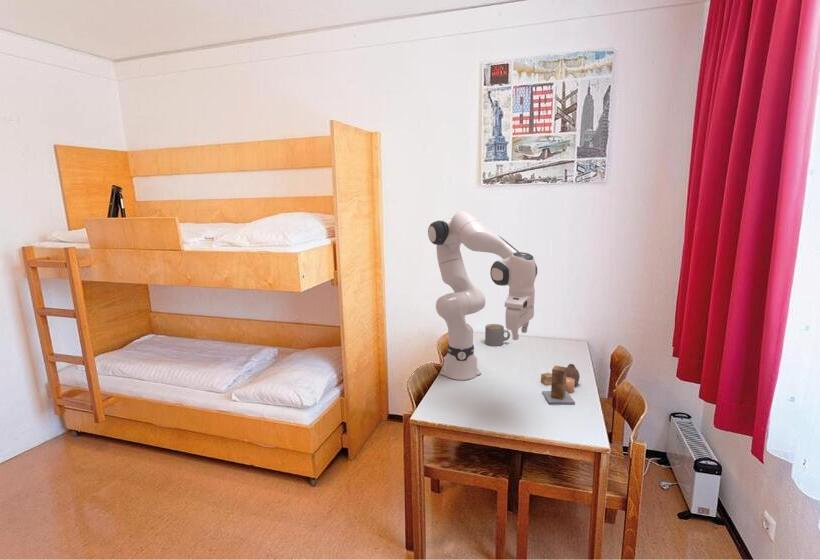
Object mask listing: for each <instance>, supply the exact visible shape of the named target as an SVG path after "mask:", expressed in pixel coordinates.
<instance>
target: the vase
mask: <svg viewBox="0 0 820 560" xmlns="http://www.w3.org/2000/svg"><path fill="white" fill-rule="evenodd" d="M566 368H567V372H566V377H571V378H573V379H575V384H574V387H575V386H577V385H578V383H579V382H580V378H581V377H580V372H579V371H578V368H577V367H576V366H575V364H573V363H569V364H568V365H567V367H566Z"/></svg>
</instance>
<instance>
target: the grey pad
mask: <svg viewBox="0 0 820 560" xmlns="http://www.w3.org/2000/svg"><path fill="white" fill-rule="evenodd" d="M541 394H542V395H544V396H543V397H544V399H545V400H546V401H547V403H548V405H551V406H554V405H555V406H557V405H559V406H560V405H566V406H567V405H571V406H572V405H576V402H575V400H574V398H573V397H572V395H570V393H568V392H567V391H565V397H564V398H563V400H560V399H556V398H551V390H542V391H541Z"/></svg>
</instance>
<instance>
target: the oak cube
mask: <svg viewBox="0 0 820 560" xmlns="http://www.w3.org/2000/svg"><path fill="white" fill-rule="evenodd" d="M540 383H541V384H543V385H544V386H546V387H547V386H551V385H552V372H543V373H541V374H540Z"/></svg>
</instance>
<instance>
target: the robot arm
mask: <svg viewBox="0 0 820 560" xmlns="http://www.w3.org/2000/svg"><path fill="white" fill-rule="evenodd" d="M427 236H428V240H429V241H430V242H431V243H432V244H433V245H435V246H436V259H437V262H438V263H437V264H438V267H439V268H438V269H439V271H440V275H441V276H440V277H441V279H442V282H443V283H444V284H445V285H448V286H449V287H450V288H451V289H452V291H453V292H450V293H446V294H444V295H442V296H440V297H439V298H437V299H436V301H435V310H436V312H437V314H438V316H439V317H441V319H443V320H444V321H445V323H446V326H447V333H448V344H447V354H446V355H445V356H443V358H442V359H443V360H442V361H443V364H442V366H441V369H440V372H439V374H440V375H442V376H445V377H448V378H450V379H453V380H456V381H457V380H459V381H466V380H467V381H468V380H471V379H472V380H473V379H475V378H476V377H477V376H481V375H482V371H481V370H480V369H479V367H478V357H477V356H476V354H475V345H474V329H473V327H472V326H471V325H470V324H468V323H467V322H466V316H468V315H471V314H476V313H477V312H480V311H482V310H483V309H484V308H485V306H486V298H485V294H484V293H483V292H482V291H480V289H478V288H477V287H476V286H474V284H473V282H471V280H470V278H469V276H468V274H467V271H466V270H467V269H466V267H465V264H464V260H463V256H462V253H461V244H463V246H464V247H466V249H469V250H470V251H472V252H477V253H478V252H480V253H482V252H483V253H489V254H493V255H496V256H499V257H500V258H501V259H499V260H496V261H494V262H493V264H492V265H491V267H490V273H489V275H490V278H491V280H492V282H493V283H494V284H495V285H496V286H501V287H503V286H504V287H505V286H508V287H509V288H508V295H507V298H506V300H505V301H504V308H506V309H505V328H506V330H508V331H510V333H511V334H512V337H511V338H512V340H514V341H518V340H519V338H520V335H519V329H520V328H521V330H520V331H521V333H523V334H526V333H527V332H528V327H529V323H530V321H531V320H532V319H533V318H534V316H535V315H534V314H535V298H536V297H535V294H536V293H535V292H536V290H535V282H536V277H537V275H538V267H537V266H538V265H537V264H536V261H535V257H534V256H533V255H532V254H530V253H527V252H522V251H521V252H520V251H519V250H518V249H516V247H514V246H513V244H511V243H509V242H508V241H507V240H505V239H504V238H503V237H501V236H500V235H498V234H496V233H495V232H493V231H492V230H490V229H489V228H487V227H486V226H485V225H484V224H483V223H482V222H481V221H480V220H479V219H478V218H477V217H476V216H475V215H473V214H472V213H470V212H468V211H466V210H461V211H458V212H456V213H455V214H454V215H453V216H452V217H451V218H446V219H443V220H436V221H433V222H431V223H430V225H429V226H428V229H427Z"/></svg>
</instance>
